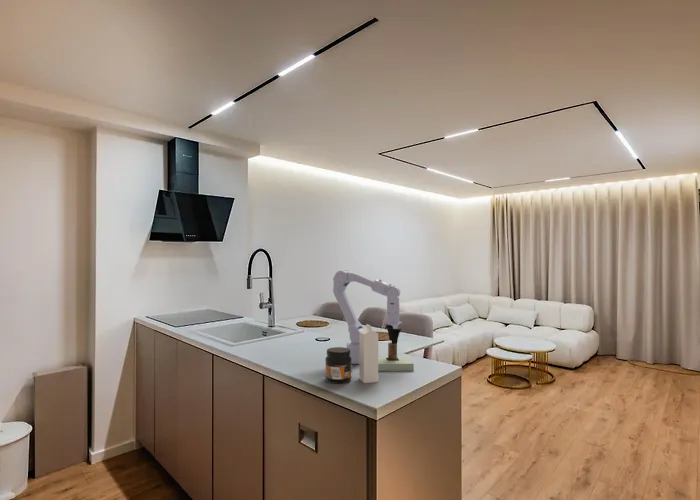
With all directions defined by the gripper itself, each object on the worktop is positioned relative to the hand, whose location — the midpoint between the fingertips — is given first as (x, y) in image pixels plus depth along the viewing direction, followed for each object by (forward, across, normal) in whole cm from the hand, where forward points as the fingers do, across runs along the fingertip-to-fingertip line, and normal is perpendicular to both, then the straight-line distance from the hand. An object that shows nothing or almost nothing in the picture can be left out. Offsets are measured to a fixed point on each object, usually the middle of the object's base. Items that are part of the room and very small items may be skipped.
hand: (393, 342), depth 171 cm
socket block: (+10, -1, 0) cm, 11 cm away
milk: (+11, -23, +13) cm, 28 cm away
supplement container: (+11, -22, +25) cm, 35 cm away
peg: (+10, -1, 0) cm, 11 cm away
